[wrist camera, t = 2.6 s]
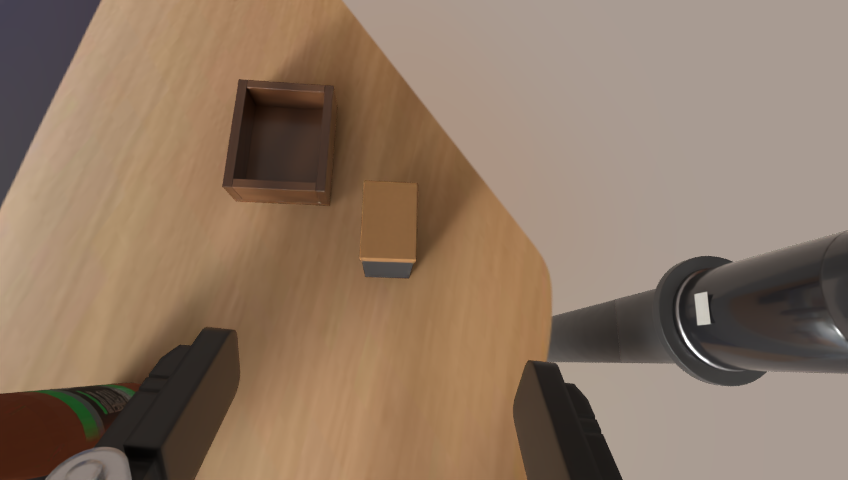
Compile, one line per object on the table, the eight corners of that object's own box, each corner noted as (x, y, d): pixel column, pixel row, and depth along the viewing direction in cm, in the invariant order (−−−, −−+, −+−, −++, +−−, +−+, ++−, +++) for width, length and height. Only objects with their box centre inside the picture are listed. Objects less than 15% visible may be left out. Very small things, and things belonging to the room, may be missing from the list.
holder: (337, 107, 44) (333, 85, 40) (329, 205, 41) (324, 191, 38) (250, 101, 43) (238, 79, 40) (235, 201, 40) (222, 186, 37)
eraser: (411, 215, 41) (418, 182, 34) (410, 279, 40) (416, 260, 32) (367, 213, 41) (363, 179, 33) (364, 277, 39) (359, 258, 32)
